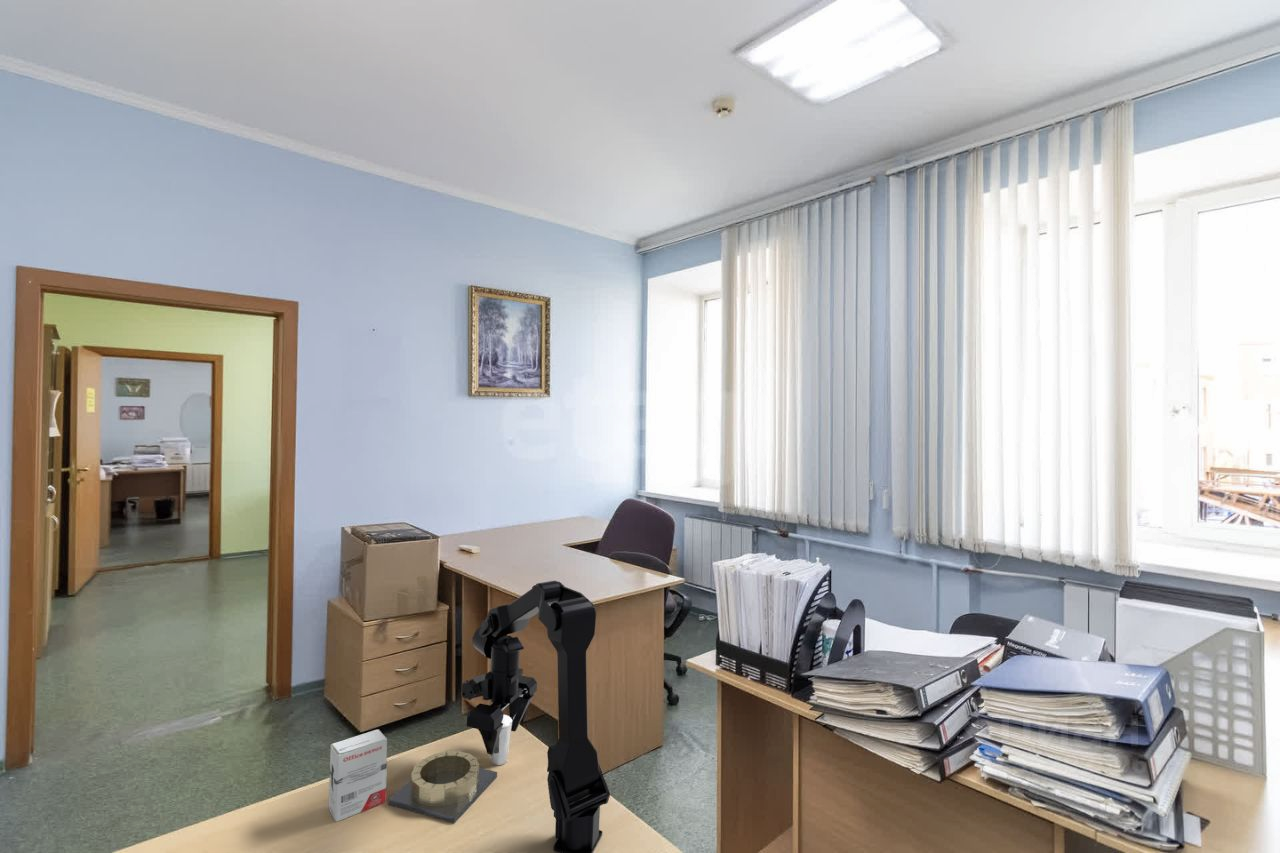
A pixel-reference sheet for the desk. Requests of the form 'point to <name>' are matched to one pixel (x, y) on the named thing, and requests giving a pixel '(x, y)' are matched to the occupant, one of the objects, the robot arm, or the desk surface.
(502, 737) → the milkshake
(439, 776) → the collar station
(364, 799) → the ink box
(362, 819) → the desk surface
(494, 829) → the desk surface
